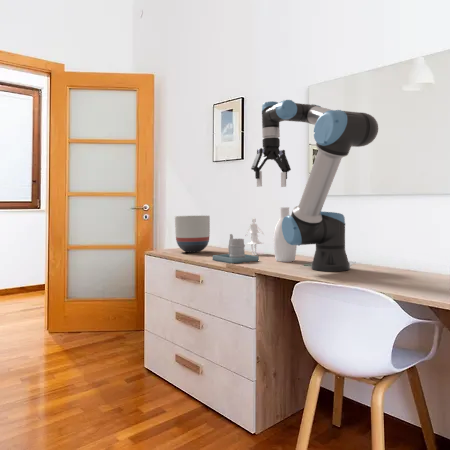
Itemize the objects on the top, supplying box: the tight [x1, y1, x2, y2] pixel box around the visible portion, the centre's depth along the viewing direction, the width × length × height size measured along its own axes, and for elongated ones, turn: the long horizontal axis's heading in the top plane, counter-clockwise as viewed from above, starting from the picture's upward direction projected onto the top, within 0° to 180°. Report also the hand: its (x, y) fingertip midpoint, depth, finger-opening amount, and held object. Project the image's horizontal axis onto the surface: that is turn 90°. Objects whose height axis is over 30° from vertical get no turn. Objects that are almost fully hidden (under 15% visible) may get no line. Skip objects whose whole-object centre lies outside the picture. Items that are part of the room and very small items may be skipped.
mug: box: [228, 233, 246, 258], centre depth 205 cm, size 8×12×12 cm, turn 29°
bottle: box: [272, 206, 298, 263], centre depth 201 cm, size 11×11×25 cm
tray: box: [212, 253, 260, 264], centre depth 205 cm, size 18×15×2 cm
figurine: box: [245, 217, 265, 256], centre depth 230 cm, size 13×10×20 cm
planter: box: [174, 214, 211, 253], centre depth 249 cm, size 20×20×21 cm
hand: (271, 186), depth 187 cm, fingers open, 13 cm apart
